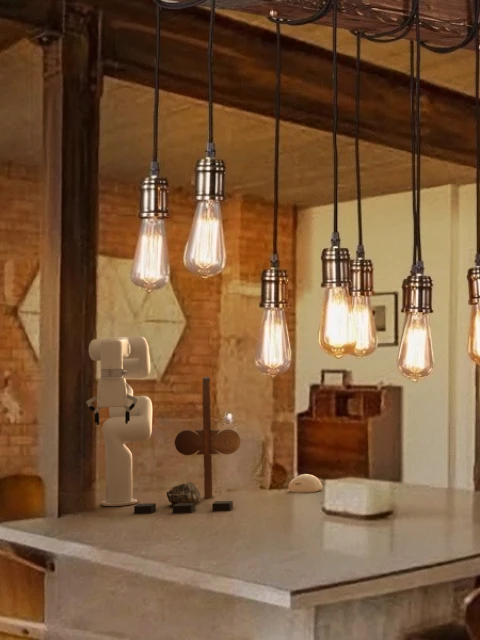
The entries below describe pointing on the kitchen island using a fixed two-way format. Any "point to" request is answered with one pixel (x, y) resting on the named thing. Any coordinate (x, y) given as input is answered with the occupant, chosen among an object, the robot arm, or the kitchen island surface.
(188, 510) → the pad base
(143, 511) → the pad
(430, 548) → the kitchen island surface
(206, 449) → the brown flat cross piece
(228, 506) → the pad
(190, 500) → the rock
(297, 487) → the computer mouse
